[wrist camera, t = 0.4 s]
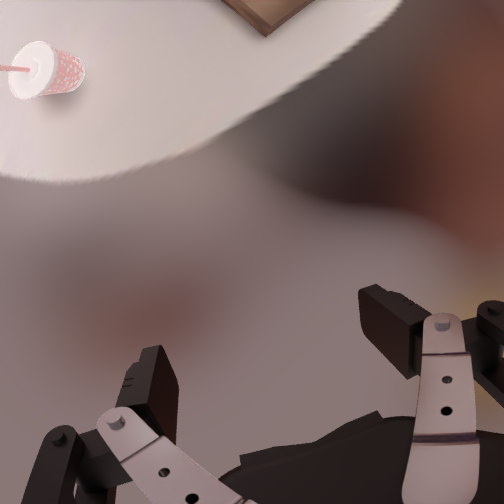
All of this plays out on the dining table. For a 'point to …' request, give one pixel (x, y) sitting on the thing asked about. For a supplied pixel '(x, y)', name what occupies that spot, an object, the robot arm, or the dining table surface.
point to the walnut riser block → (267, 12)
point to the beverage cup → (43, 71)
